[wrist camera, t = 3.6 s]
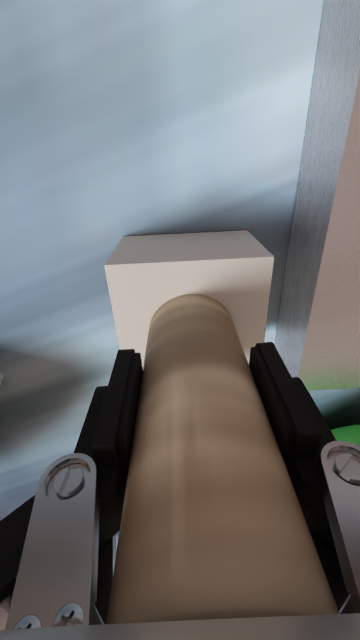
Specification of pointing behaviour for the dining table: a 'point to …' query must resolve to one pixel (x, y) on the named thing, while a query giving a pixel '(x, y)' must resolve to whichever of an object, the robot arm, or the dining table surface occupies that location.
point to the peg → (208, 487)
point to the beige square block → (189, 281)
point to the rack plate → (327, 218)
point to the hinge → (1, 378)
